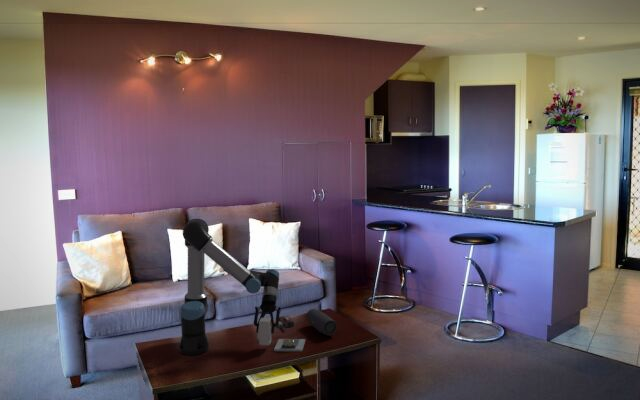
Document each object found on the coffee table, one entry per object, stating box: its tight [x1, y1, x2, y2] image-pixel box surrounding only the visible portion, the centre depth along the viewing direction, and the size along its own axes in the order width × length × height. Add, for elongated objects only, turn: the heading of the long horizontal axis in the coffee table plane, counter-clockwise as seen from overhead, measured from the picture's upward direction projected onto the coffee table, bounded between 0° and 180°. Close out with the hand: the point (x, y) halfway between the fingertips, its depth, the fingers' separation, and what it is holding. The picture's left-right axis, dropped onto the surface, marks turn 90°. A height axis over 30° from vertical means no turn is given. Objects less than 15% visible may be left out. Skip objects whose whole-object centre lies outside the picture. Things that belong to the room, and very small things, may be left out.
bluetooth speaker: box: [305, 308, 338, 336], centre depth 287 cm, size 23×9×10 cm, turn 25°
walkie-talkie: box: [278, 315, 295, 332], centre depth 298 cm, size 9×4×20 cm
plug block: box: [258, 317, 272, 346], centre depth 263 cm, size 5×6×12 cm
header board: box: [273, 338, 306, 352], centre depth 267 cm, size 14×14×1 cm
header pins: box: [281, 340, 296, 348], centre depth 262 cm, size 7×2×4 cm, turn 85°
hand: (264, 338), depth 260 cm, fingers closed on plug block, 5 cm apart
